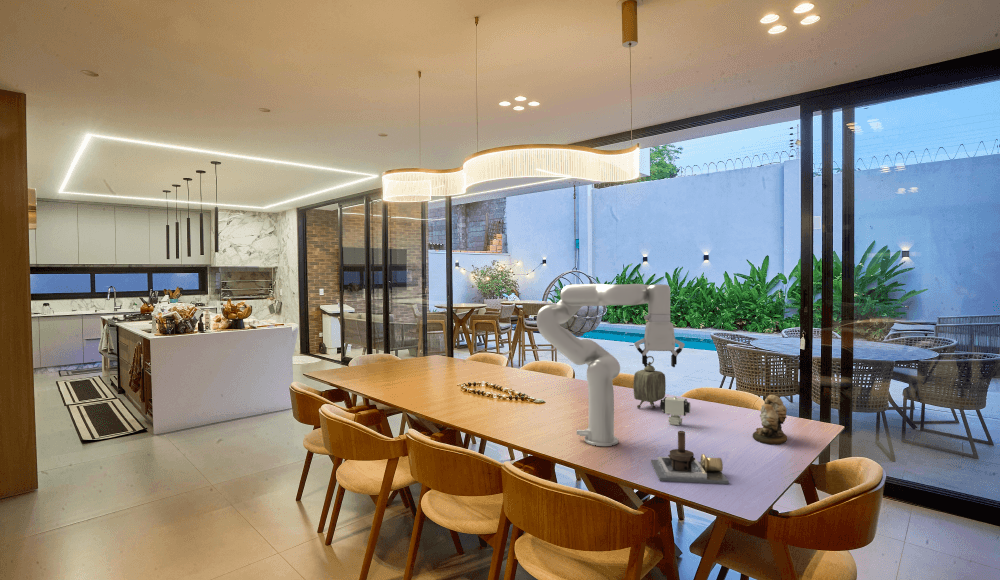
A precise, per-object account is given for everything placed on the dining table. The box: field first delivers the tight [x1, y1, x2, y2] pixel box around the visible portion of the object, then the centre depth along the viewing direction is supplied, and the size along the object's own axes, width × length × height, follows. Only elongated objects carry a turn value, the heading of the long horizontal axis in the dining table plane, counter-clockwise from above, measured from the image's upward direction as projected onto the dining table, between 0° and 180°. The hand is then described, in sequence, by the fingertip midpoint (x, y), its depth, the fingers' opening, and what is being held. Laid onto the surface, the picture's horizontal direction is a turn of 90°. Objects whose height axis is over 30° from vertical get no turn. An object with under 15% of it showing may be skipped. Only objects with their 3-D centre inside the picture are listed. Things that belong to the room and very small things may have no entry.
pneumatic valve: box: [659, 395, 692, 426], centre depth 215 cm, size 6×12×12 cm, turn 61°
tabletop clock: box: [632, 355, 667, 409], centre depth 244 cm, size 14×9×25 cm, turn 130°
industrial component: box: [667, 430, 696, 471], centre depth 161 cm, size 9×7×12 cm
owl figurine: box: [752, 394, 788, 446], centre depth 195 cm, size 18×12×17 cm, turn 150°
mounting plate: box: [650, 453, 730, 485], centre depth 160 cm, size 20×16×6 cm
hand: (659, 366), depth 181 cm, fingers open, 9 cm apart
